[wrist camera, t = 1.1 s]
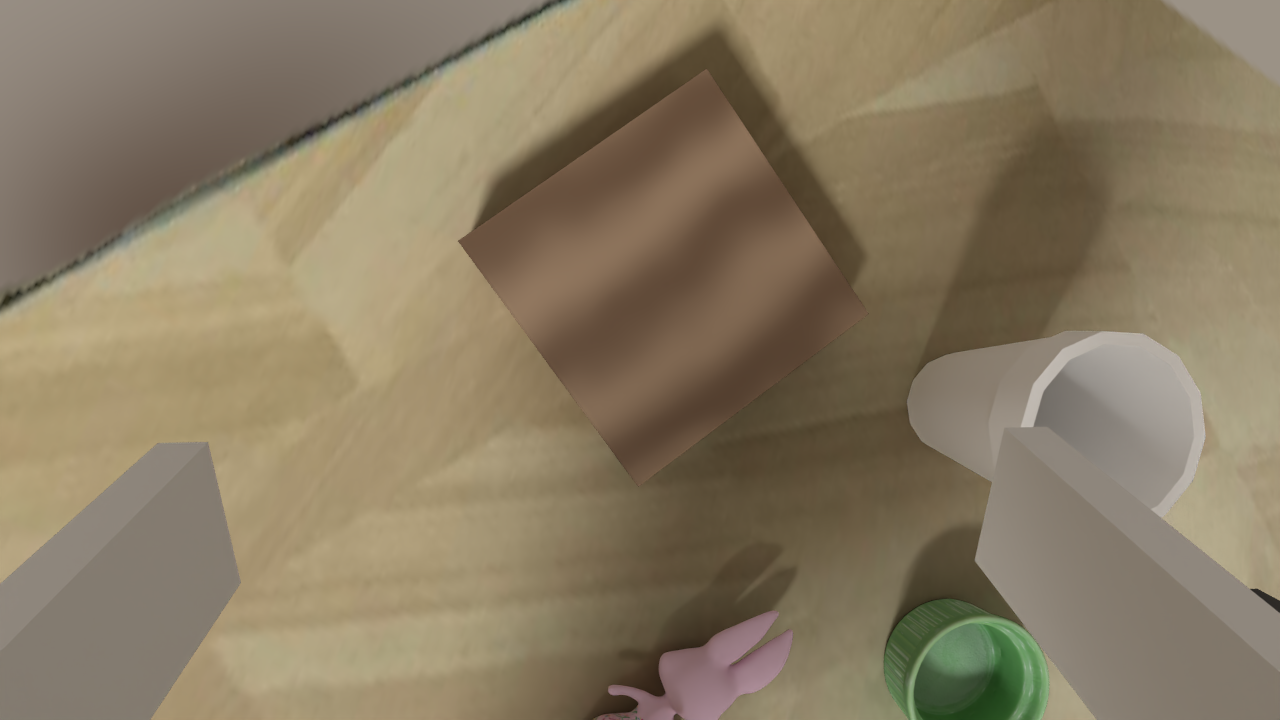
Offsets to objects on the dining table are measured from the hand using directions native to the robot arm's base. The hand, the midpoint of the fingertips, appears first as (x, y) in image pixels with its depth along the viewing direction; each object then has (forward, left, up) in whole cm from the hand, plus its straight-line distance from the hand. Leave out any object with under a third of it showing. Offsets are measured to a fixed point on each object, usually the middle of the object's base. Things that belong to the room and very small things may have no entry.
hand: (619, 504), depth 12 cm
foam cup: (-16, -19, -31) cm, 40 cm away
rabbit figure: (-19, +5, -31) cm, 37 cm away
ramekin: (-29, -9, -31) cm, 44 cm away
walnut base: (+1, -8, -31) cm, 32 cm away
